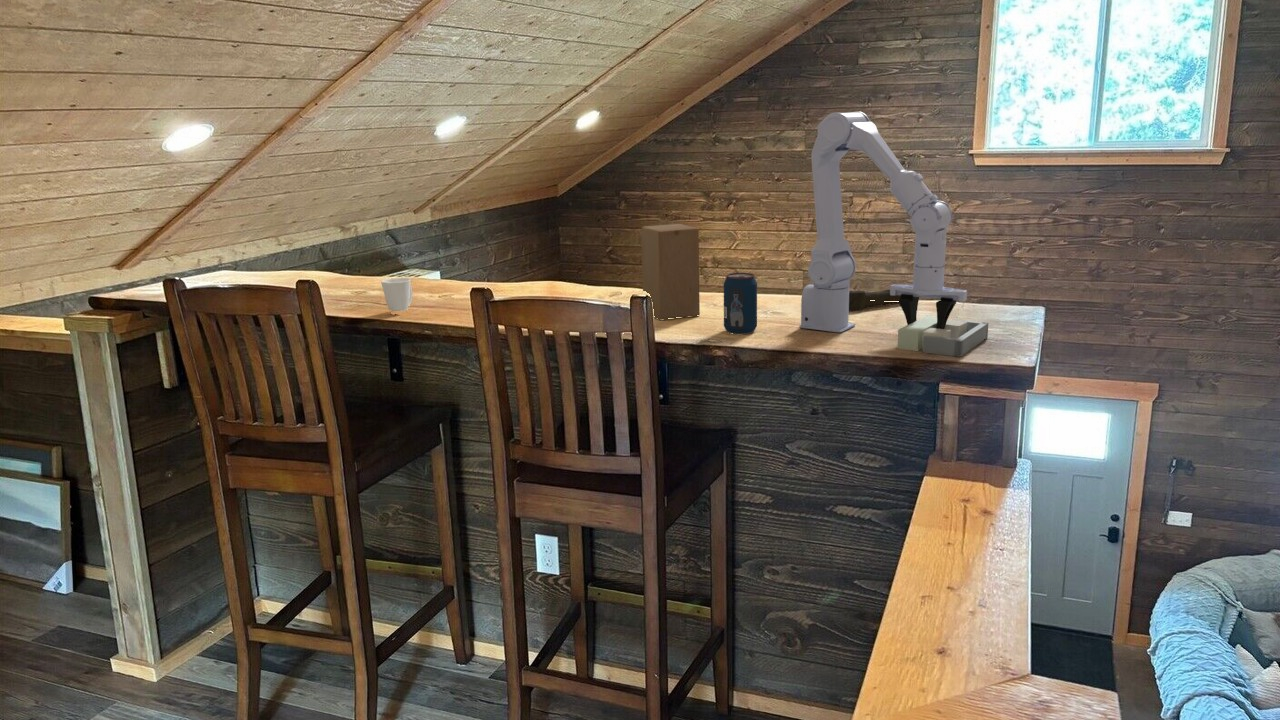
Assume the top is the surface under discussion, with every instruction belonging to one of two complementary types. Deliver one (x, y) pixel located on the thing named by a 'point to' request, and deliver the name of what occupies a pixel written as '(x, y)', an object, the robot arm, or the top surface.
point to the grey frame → (957, 340)
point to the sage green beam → (915, 333)
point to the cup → (397, 293)
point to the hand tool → (862, 299)
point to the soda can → (740, 303)
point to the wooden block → (671, 269)
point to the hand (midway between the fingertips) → (925, 334)
